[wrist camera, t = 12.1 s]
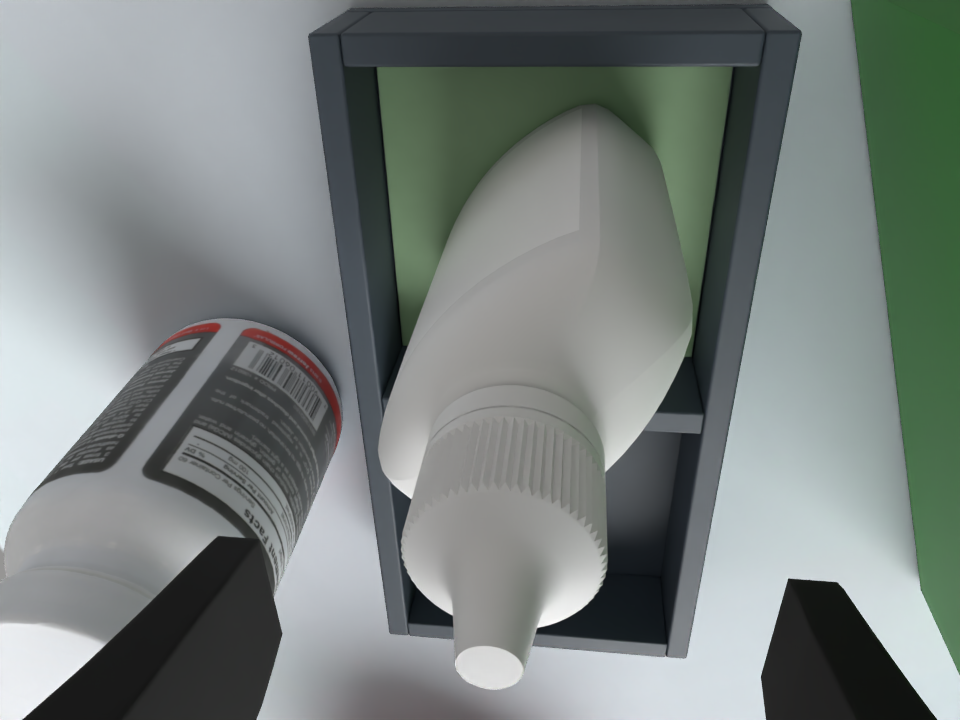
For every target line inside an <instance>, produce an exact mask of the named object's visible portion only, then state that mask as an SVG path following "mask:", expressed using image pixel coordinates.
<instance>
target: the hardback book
mask: <svg viewBox="0 0 960 720" xmlns="http://www.w3.org/2000/svg"><path fill="white" fill-rule="evenodd" d="M851 6H852V14H853V22H854V31H855V39H856V48H857V56H858V65H859V73H860V81H861V90H862V98H863V107H864V115H865V123H866V132H867V140H868V149H869V157H870V165H871V174H872V182H873V191H874V199H875V207H876V216H877V224H878V233H879V241H880V250H881V258H882V266H883V275H884V283H885V292H886V300H887V308H888V317H889V325H890V334H891V342H892V350H893V359H894V367H895V376H896V384H897V392H898V401H899V409H900V418H901V426H902V435H903V443H904V451H905V460H906V468H907V477H908V485H909V493H910V502H911V510H912V519H913V527H914V535H915V544H916V552H917V561H918V569H919V577H920V586H921V591H922V593H923V595H924V598H925V600H926V602H927V604H928V606H929V609H930V611H931V613H932V615H933V617H934V620H935V622H936V624H937V626H938V628H939V631H940V633H941V635H942V637H943V639H944V641H945V644H946V646H947V648H948V650H949V652H950V655H951V657H952V659H953V661H954V663H955V666H956V668H957V670H958V672H959V674H960V0H851Z"/></svg>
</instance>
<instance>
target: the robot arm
mask: <svg viewBox="0 0 960 720" xmlns="http://www.w3.org/2000/svg"><path fill="white" fill-rule="evenodd" d="M281 637H282V631H281V627H280V622H279V618H278V614H277V610H276V606H275V602H274V598H273V594H272V590H271V586H270V581H269V577H268V573H267V569H266V565H265V561H264V557H263V553H262V549H261V545H260V540H259V539H254V538H240V537H227V536H217V537H216V538H215V539H214V540H213V541H212V542H211V543H210V544H209V545H208V546H207V547H206V548H205V549H203V550H202V551H201V552H200V553H199V554H198V555H197V556H196V557H195V558H194V559H193V560H192V561H191V562H190V563H189V564H188V565H187V566H186V567H185V568H184V569H183V570H182V571H181V572H180V573H179V574H178V575H177V576H176V577H175V578H174V579H173V580H172V581H171V582H170V583H169V584H168V585H167V586H166V587H165V588H164V589H163V590H162V591H161V592H160V593H159V594H158V595H157V596H156V597H155V598H154V599H153V600H152V601H151V602H150V603H149V604H148V605H147V606H146V607H145V608H144V609H143V610H142V611H141V612H140V613H138V614H137V615H136V616H135V617H134V618H133V619H132V620H131V621H130V622H129V623H128V624H127V625H126V626H125V627H124V628H123V629H122V630H121V631H120V632H119V633H117V634H116V635H115V636H114V637H113V638H112V639H111V640H110V641H109V642H108V643H107V644H106V645H105V646H104V647H103V648H102V649H101V650H100V651H98V652H97V653H96V654H95V655H94V656H93V657H92V658H91V659H90V660H89V661H88V662H87V663H86V664H85V665H83V666H82V667H81V668H80V669H79V670H78V671H77V672H76V673H75V674H73V675H72V676H71V677H70V678H69V679H68V680H67V681H66V682H64V683H63V684H62V685H61V686H60V687H59V688H58V689H56V690H55V691H54V692H53V693H52V694H51V695H50V696H48V697H47V698H46V699H45V700H44V701H43V702H42V703H40V704H39V705H38V706H37V707H36V708H35V709H34V710H32V711H31V712H30V713H29V714H28V715H27V716H26V717H25V718H23V719H22V720H256V718H257V716H258V713H259V711H260V709H261V706H262V703H263V700H264V696H265V693H266V690H267V686H268V683H269V680H270V676H271V673H272V670H273V666H274V662H275V659H276V655H277V651H278V648H279V644H280V640H281ZM761 681H762V689H763V697H764V705H765V714H766V720H937V719H936V717H935V716H934V715H933V713H932V712H931V711H930V710H929V708H928V707H927V706H926V704H925V703H924V702H923V700H922V699H921V698H920V696H919V695H918V694H917V692H916V691H915V689H914V688H913V687H912V685H911V684H910V683H909V681H908V680H907V679H906V677H905V676H904V674H903V673H902V672H901V670H900V669H899V668H898V666H897V665H896V663H895V662H894V661H893V659H892V658H891V656H890V655H889V654H888V652H887V651H886V649H885V648H884V647H883V645H882V644H881V642H880V641H879V640H878V638H877V637H876V635H875V634H874V632H873V631H872V630H871V628H870V627H869V625H868V624H867V622H866V621H865V619H864V618H863V617H862V615H861V614H860V612H859V611H858V609H857V608H856V606H855V605H854V604H853V602H852V601H851V599H850V598H849V596H848V595H847V593H846V592H845V590H844V589H843V588H842V587H841V586H840V585H839V584H838V583H837V582H826V581H812V580H799V579H788V582H787V586H786V589H785V593H784V596H783V600H782V603H781V607H780V610H779V614H778V618H777V621H776V625H775V628H774V632H773V635H772V639H771V643H770V646H769V650H768V653H767V657H766V660H765V664H764V668H763V671H762V675H761Z"/></svg>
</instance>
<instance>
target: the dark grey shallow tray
mask: <svg viewBox="0 0 960 720" xmlns="http://www.w3.org/2000/svg"><path fill="white" fill-rule="evenodd" d="M801 36H802V33H801V31H800V30H799V29H798V28H797V27H795V26H794V25H793V24H792V23H790V22H789V21H788V20H786V19H785V18H784V17H783V16H781V15H780V14H779V13H778V12H776V11H775V10H774V9H773V8H772V7H771V6H769V5H768V4H722V5H623V6H524V7H426V8H351V9H349V10H347V11H346V12H345V13H343V14H341V15H340V16H338V17H336V18H335V19H333V20H331V21H330V22H328V23H326V24H325V25H323V26H321V27H320V28H318V29H317V30H315V31H313V32H312V33H310V34H309V36H308V38H309V46H310V53H311V60H312V68H313V75H314V82H315V90H316V97H317V104H318V112H319V119H320V126H321V134H322V141H323V148H324V156H325V163H326V170H327V178H328V185H329V192H330V200H331V207H332V214H333V222H334V229H335V236H336V244H337V251H338V258H339V266H340V273H341V280H342V288H343V295H344V302H345V310H346V317H347V324H348V332H349V339H350V346H351V354H352V361H353V368H354V376H355V383H356V390H357V398H358V405H359V412H360V420H361V427H362V434H363V442H364V449H365V457H366V464H367V471H368V479H369V486H370V493H371V501H372V508H373V515H374V523H375V530H376V537H377V545H378V552H379V559H380V567H381V574H382V581H383V589H384V596H385V603H386V611H387V618H388V625H389V632H390V634H398V635H408V634H409V635H410V636H419V637H431V638H443V639H454V628H453V615H451V614H449V613H447V612H445V611H444V610H442V609H440V608H439V607H438V606H436V605H435V604H434V603H432V602H431V601H430V600H429V599H428V598H427V597H426V596H425V595H424V594H423V593H422V592H421V591H420V590H419V589H418V588H417V587H416V585H415V584H414V582H413V581H412V580H411V577H410V576H409V574H408V573H407V569H406V568H405V566H404V561H403V559H402V554H403V553H402V552H401V547H402V544H401V539H402V532H403V529H404V525H405V522H406V518H407V514H408V511H409V507H410V504H411V500H412V499H410V498H409V497H408V496H406V495H405V494H404V493H403V492H401V491H400V490H399V489H398V488H396V487H395V486H394V485H393V484H392V482H391V481H390V480H389V479H388V478H387V476H386V475H385V474H384V472H383V470H382V467H381V463H380V459H379V454H378V446H379V436H380V431H381V426H382V422H383V418H384V414H385V410H386V407H387V404H388V401H389V398H390V395H391V392H392V389H393V386H394V383H395V381H396V378H397V375H398V372H399V369H400V366H401V364H402V361H403V358H404V355H405V353H406V350H407V347H408V345H409V342H410V339H411V336H412V334H413V331H414V328H415V326H416V323H417V320H418V318H419V315H420V312H421V309H422V307H423V304H424V301H425V299H426V296H427V293H428V291H429V288H430V285H431V283H432V280H433V277H434V275H435V272H436V269H437V267H438V264H439V261H440V259H441V256H442V253H443V251H444V248H445V245H446V243H447V240H448V237H449V235H450V233H451V230H452V228H453V226H454V223H455V221H456V219H457V217H458V215H459V214H460V212H461V210H462V208H463V206H464V204H465V203H466V201H467V199H468V198H469V196H470V194H471V193H472V192H473V190H474V189H475V187H476V186H477V184H478V183H479V182H480V180H481V179H482V178H483V177H484V175H485V174H486V173H487V172H488V171H489V169H490V168H491V167H492V166H493V165H494V164H495V163H496V162H497V161H498V160H499V159H500V158H501V157H502V156H503V155H504V154H505V153H506V152H507V151H508V150H509V149H510V148H511V147H513V146H514V145H515V144H516V143H517V142H519V141H520V140H521V139H522V138H524V137H525V136H526V135H528V134H529V133H531V132H532V131H533V130H535V129H536V128H538V127H539V126H541V125H542V124H544V123H546V122H547V121H549V120H551V119H552V118H554V117H556V116H558V115H560V114H562V113H563V112H565V111H568V110H570V109H572V108H575V107H577V106H579V105H587V104H597V105H599V106H601V107H604V108H606V109H608V110H610V111H611V112H612V113H613V114H614V115H616V116H617V117H618V118H619V119H621V120H622V121H623V122H624V123H625V124H626V125H627V126H629V127H630V128H631V129H632V130H633V131H634V132H635V133H636V134H638V135H639V136H640V137H641V138H642V139H643V140H644V141H645V142H646V143H647V144H648V145H649V146H651V147H652V148H653V149H654V151H655V153H656V155H657V156H658V158H659V160H660V162H661V165H662V169H663V173H664V177H665V181H666V185H667V189H668V193H669V198H670V202H671V206H672V210H673V214H674V218H675V223H676V227H677V231H678V236H679V240H680V244H681V249H682V253H683V258H684V262H685V266H686V271H687V276H688V281H689V287H690V293H691V298H692V304H693V312H692V335H691V338H690V341H689V344H688V346H687V349H686V352H685V355H684V358H683V361H682V363H681V365H680V367H679V370H678V372H677V374H676V376H675V378H674V380H673V382H672V384H671V386H670V388H669V390H668V392H667V393H666V395H665V397H664V399H663V401H662V402H661V404H660V406H659V407H658V409H657V410H656V412H655V413H654V415H653V417H652V418H651V420H650V421H649V422H648V424H647V425H646V427H645V428H644V429H643V431H642V432H641V433H640V435H639V436H638V437H637V438H636V440H635V441H634V442H633V443H632V444H631V446H630V447H629V448H628V449H627V450H626V452H625V453H624V454H623V455H622V456H621V457H620V458H619V459H618V460H617V461H616V462H615V463H614V464H613V465H612V466H611V467H610V468H609V469H608V470H607V471H606V472H605V482H606V518H607V554H608V562H607V571H606V572H605V575H606V577H605V578H604V580H603V585H602V586H601V587H600V588H599V592H598V593H596V594H595V595H594V598H593V599H592V600H591V601H589V604H587V605H586V606H584V607H583V608H582V609H581V610H579V611H578V612H576V613H575V614H573V615H571V616H570V617H568V618H566V619H564V620H561V621H559V622H557V623H554V624H551V625H547V626H544V627H539V628H537V630H536V634H535V637H534V640H533V644H532V646H538V647H550V648H562V649H574V650H586V651H598V652H610V653H622V654H634V655H645V656H657V657H665V655H666V656H667V657H674V658H686V657H687V652H688V646H689V641H690V636H691V630H692V625H693V619H694V614H695V609H696V603H697V598H698V592H699V587H700V582H701V576H702V571H703V565H704V560H705V555H706V549H707V544H708V538H709V533H710V528H711V522H712V517H713V511H714V506H715V500H716V495H717V490H718V484H719V479H720V473H721V468H722V463H723V457H724V452H725V446H726V441H727V436H728V430H729V425H730V419H731V414H732V409H733V403H734V398H735V392H736V387H737V382H738V376H739V371H740V365H741V360H742V355H743V349H744V344H745V338H746V333H747V327H748V322H749V317H750V311H751V306H752V300H753V295H754V290H755V284H756V279H757V273H758V268H759V263H760V257H761V252H762V246H763V241H764V236H765V230H766V225H767V219H768V214H769V209H770V203H771V198H772V192H773V187H774V181H775V176H776V171H777V165H778V160H779V154H780V149H781V144H782V138H783V133H784V127H785V122H786V117H787V111H788V106H789V100H790V95H791V90H792V84H793V79H794V73H795V68H796V63H797V57H798V52H799V46H800V41H801Z"/></svg>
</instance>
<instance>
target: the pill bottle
mask: <svg viewBox="0 0 960 720" xmlns="http://www.w3.org/2000/svg"><path fill="white" fill-rule="evenodd" d="M342 418H343V417H342V406H341V400H340V397H339V394H338V391H337V388H336V386H335V384H334V382H333V380H332V378H331V376H330V374H329V373H328V371H327V370H326V369H325V367H324V366H323V365H322V363H321V362H320V361H319V360H318V359H317V358H316V356H315V355H314V354H312V353H311V352H310V351H309V350H308V349H307V348H306V347H305V346H303V345H302V344H301V343H299V342H298V341H296V340H295V339H293V338H292V337H290V336H288V335H287V334H285V333H283V332H281V331H279V330H277V329H275V328H272V327H269V326H267V325H264V324H261V323H257V322H253V321H249V320H243V319H235V318H219V319H210V320H205V321H200V322H197V323H194V324H191V325H189V326H186V327H184V328H182V329H181V330H179V331H177V332H176V333H174V334H173V335H171V336H170V337H169V338H168V339H167V340H166V341H165V342H164V343H163V344H162V345H160V346H159V348H158V349H157V350H156V351H155V352H154V353H153V354H152V355H151V356H150V358H149V359H148V360H147V362H146V363H145V364H144V365H143V366H142V367H141V368H140V369H139V370H138V372H137V373H136V374H135V375H134V376H133V377H132V378H131V380H130V381H129V382H128V383H127V384H126V386H125V387H124V388H123V389H122V390H121V391H120V392H119V393H118V395H117V396H116V397H115V398H114V399H113V400H112V402H111V403H110V404H109V405H108V406H107V407H106V409H105V410H104V411H103V412H102V413H101V414H100V416H99V417H98V418H97V419H96V420H95V421H94V423H93V424H92V425H91V426H90V427H89V428H88V430H87V431H86V432H85V433H84V434H83V435H82V436H81V437H80V439H79V440H78V441H77V442H76V443H75V444H74V446H73V447H72V448H71V449H70V450H69V451H68V453H67V454H66V455H65V456H64V457H63V458H62V460H61V461H60V462H59V463H58V464H57V465H56V467H55V468H54V469H53V470H52V471H51V472H50V473H49V475H48V476H47V477H46V478H45V479H44V480H43V482H42V483H41V484H40V485H39V486H38V487H37V488H36V489H35V490H34V492H33V493H32V494H31V495H30V497H29V498H28V499H27V501H26V502H25V503H24V505H23V506H22V507H21V509H20V510H19V511H18V513H17V514H16V516H15V518H14V520H13V521H12V523H11V525H10V528H9V531H8V533H7V537H6V541H5V548H4V565H5V572H6V578H4V579H3V580H1V581H0V720H22V719H23V718H25V717H26V716H27V715H28V714H29V713H30V712H31V711H32V710H34V709H35V708H36V707H37V706H38V705H39V704H40V703H42V702H43V701H44V700H45V699H46V698H47V697H48V696H50V695H51V694H52V693H53V692H54V691H55V690H56V689H58V688H59V687H60V686H61V685H62V684H63V683H64V682H66V681H67V680H68V679H69V678H70V677H71V676H72V675H73V674H75V673H76V672H77V671H78V670H79V669H80V668H81V667H82V666H83V665H85V664H86V663H87V662H88V661H89V660H90V659H91V658H92V657H93V656H94V655H95V654H96V653H97V652H98V651H100V650H101V649H102V648H103V647H104V646H105V645H106V644H107V643H108V642H109V641H110V640H111V639H112V638H113V637H114V636H115V635H116V634H117V633H119V632H120V631H121V630H122V629H123V628H124V627H125V626H126V625H127V624H128V623H129V622H130V621H131V620H132V619H133V618H134V617H135V616H136V615H137V614H138V613H140V612H141V611H142V610H143V609H144V608H145V607H146V606H147V605H148V604H149V603H150V602H151V601H152V600H153V599H154V598H155V597H156V596H157V595H158V594H159V593H160V592H161V591H162V590H163V589H164V588H165V587H166V586H167V585H168V584H169V583H170V582H171V581H172V580H173V579H174V578H175V577H176V576H177V575H178V574H179V573H180V572H181V571H182V570H183V569H184V568H185V567H186V566H187V565H188V564H189V563H190V562H191V561H192V560H193V559H194V558H195V557H196V556H197V555H198V554H199V553H200V552H201V551H202V550H203V549H205V548H206V547H207V546H208V545H209V544H210V543H211V542H212V541H213V540H214V539H215V538H216V537H217V536H227V537H240V538H254V539H259V540H260V545H261V549H262V553H263V557H264V561H265V565H266V569H267V573H268V577H269V581H270V586H271V590H272V594H273V597H274V595H275V592H276V590H277V588H278V585H279V583H280V581H281V578H282V576H283V573H284V571H285V568H286V566H287V564H288V561H289V559H290V556H291V554H292V552H293V549H294V547H295V545H296V542H297V540H298V538H299V535H300V533H301V530H302V528H303V525H304V523H305V521H306V518H307V516H308V513H309V511H310V509H311V506H312V504H313V501H314V499H315V497H316V494H317V492H318V489H319V487H320V485H321V482H322V480H323V477H324V475H325V472H326V470H327V468H328V465H329V463H330V461H331V458H332V456H333V454H334V452H335V450H336V447H337V444H338V441H339V438H340V434H341V429H342Z"/></svg>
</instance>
